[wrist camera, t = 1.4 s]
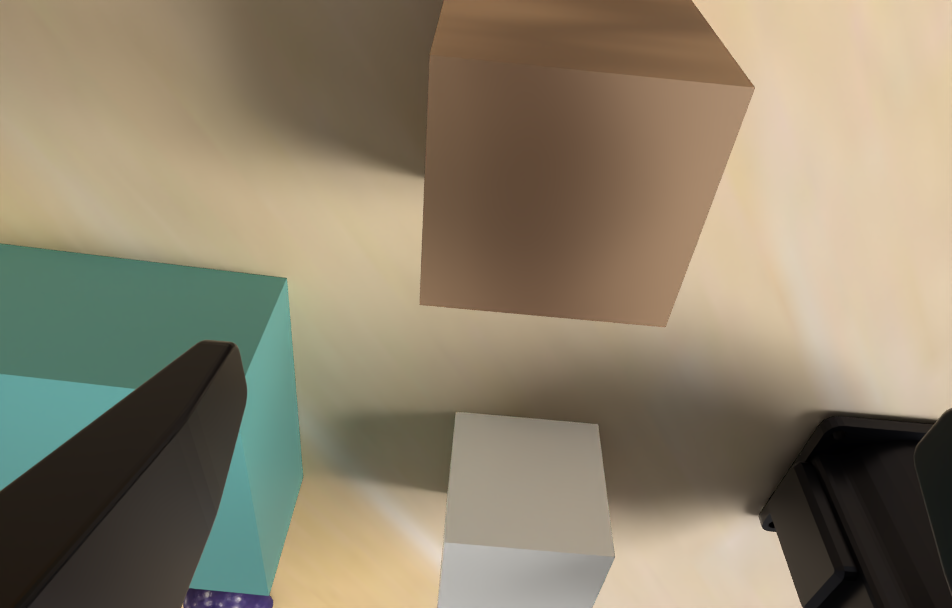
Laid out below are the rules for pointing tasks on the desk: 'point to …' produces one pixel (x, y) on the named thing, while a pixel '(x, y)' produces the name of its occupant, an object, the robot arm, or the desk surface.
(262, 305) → the teal base block
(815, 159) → the desk surface
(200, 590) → the toy lamp
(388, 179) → the desk surface
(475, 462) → the grey cube
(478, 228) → the walnut cube
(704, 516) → the desk surface
